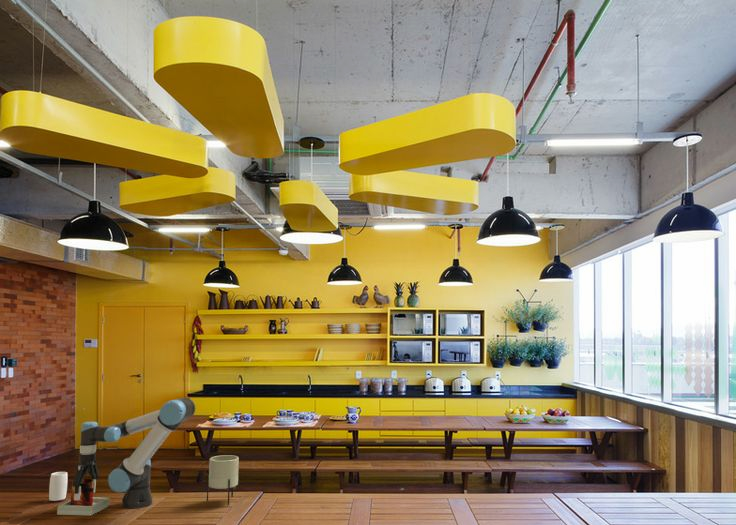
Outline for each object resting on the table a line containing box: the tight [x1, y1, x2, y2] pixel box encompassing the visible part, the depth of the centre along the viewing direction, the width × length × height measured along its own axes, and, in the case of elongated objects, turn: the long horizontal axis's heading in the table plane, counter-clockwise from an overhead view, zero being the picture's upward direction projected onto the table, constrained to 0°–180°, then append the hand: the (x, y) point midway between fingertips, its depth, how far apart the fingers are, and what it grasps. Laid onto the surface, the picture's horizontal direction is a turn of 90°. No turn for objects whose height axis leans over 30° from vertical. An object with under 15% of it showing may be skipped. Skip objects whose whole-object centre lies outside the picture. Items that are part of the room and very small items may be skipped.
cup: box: [48, 471, 69, 502], centre depth 302 cm, size 8×8×14 cm
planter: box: [206, 454, 240, 506], centre depth 302 cm, size 15×16×23 cm
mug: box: [70, 478, 94, 506], centre depth 287 cm, size 10×14×12 cm
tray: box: [56, 496, 110, 516], centre depth 286 cm, size 18×16×4 cm
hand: (84, 496), depth 287 cm, fingers open, 13 cm apart
